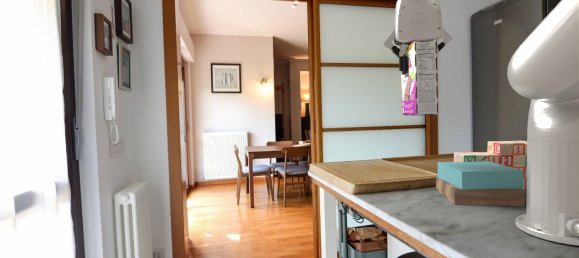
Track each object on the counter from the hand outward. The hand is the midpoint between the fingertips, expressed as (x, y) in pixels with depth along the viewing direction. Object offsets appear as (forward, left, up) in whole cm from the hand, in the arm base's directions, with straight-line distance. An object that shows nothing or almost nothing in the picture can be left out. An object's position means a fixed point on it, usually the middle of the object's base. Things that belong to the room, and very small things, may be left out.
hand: (417, 72), depth 73 cm
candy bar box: (0, 0, -10) cm, 10 cm away
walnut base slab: (+3, -14, -31) cm, 34 cm away
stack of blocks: (+14, -24, -30) cm, 41 cm away
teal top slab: (+3, -14, -27) cm, 30 cm away
